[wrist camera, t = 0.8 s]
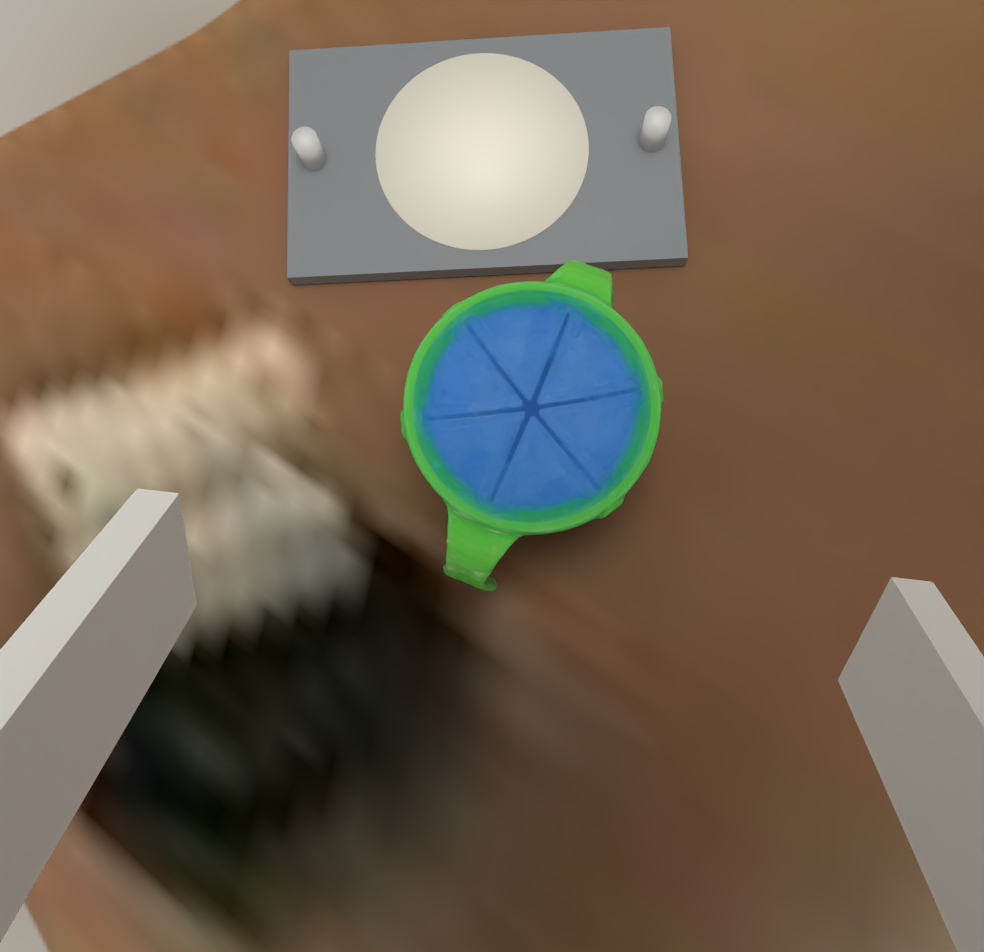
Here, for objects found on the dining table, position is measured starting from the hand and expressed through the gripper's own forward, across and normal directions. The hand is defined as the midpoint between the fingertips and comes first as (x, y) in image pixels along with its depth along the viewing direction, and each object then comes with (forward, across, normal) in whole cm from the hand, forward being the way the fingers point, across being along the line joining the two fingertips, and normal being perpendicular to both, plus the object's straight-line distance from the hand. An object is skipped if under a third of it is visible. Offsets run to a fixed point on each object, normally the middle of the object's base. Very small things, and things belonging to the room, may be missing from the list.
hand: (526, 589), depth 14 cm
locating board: (+35, -3, +2) cm, 35 cm away
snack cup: (+24, +1, -11) cm, 26 cm away
